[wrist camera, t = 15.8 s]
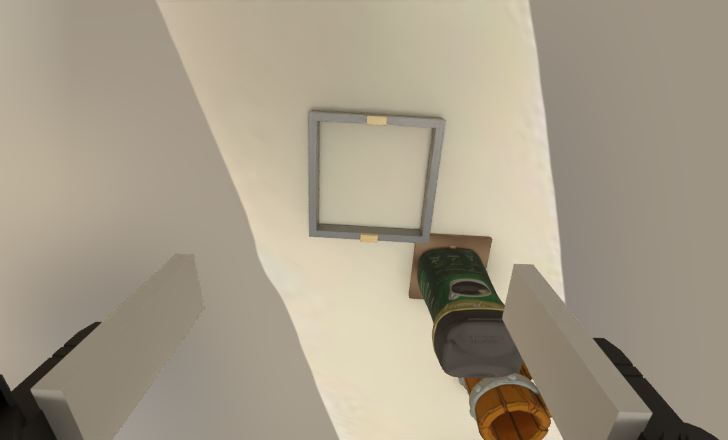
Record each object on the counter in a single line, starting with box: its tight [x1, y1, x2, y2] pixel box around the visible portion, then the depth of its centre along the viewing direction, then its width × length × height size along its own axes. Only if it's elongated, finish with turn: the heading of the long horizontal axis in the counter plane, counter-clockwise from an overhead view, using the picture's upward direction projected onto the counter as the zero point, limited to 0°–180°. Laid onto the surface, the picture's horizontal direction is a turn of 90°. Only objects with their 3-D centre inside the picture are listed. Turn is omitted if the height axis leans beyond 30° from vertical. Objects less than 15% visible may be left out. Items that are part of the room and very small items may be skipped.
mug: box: [459, 361, 552, 440], centre depth 53 cm, size 11×16×15 cm, turn 117°
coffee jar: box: [417, 249, 523, 378], centre depth 44 cm, size 10×8×19 cm
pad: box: [409, 233, 492, 299], centre depth 53 cm, size 11×11×1 cm
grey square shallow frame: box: [309, 110, 445, 244], centre depth 47 cm, size 17×17×3 cm
